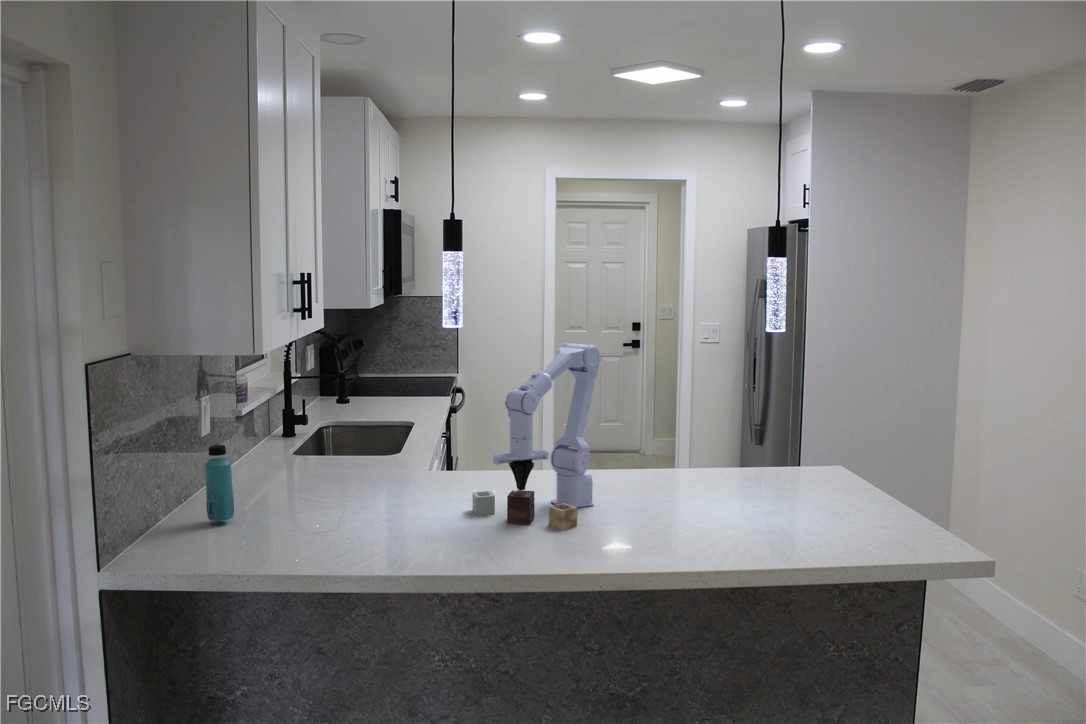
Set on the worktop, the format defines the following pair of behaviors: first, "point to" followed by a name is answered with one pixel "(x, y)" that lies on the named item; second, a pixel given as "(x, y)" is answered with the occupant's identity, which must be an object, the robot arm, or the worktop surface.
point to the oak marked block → (563, 516)
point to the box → (520, 507)
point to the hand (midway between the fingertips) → (520, 489)
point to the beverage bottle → (219, 485)
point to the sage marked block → (483, 503)
